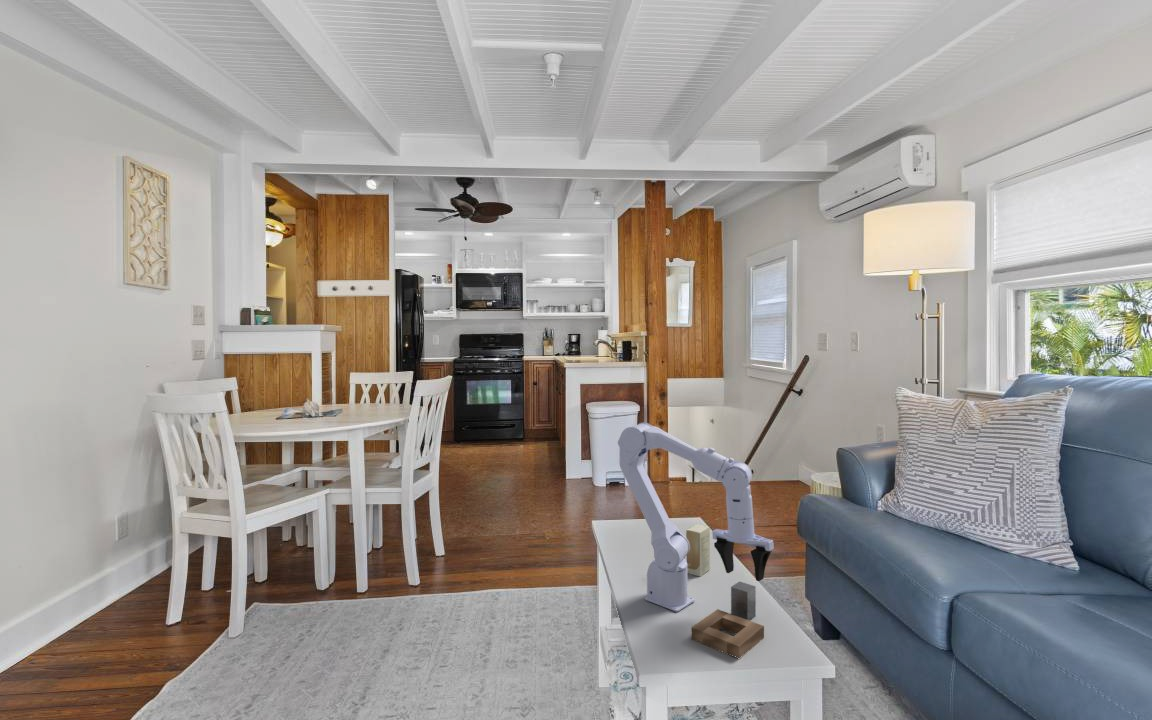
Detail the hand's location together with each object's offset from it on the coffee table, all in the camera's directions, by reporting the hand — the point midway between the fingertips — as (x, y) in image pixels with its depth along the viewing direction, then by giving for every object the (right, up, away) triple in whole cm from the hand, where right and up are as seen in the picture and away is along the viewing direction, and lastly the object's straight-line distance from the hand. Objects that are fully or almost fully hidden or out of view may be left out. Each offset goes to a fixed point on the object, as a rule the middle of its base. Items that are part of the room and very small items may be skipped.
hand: (744, 575), depth 125 cm
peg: (0, -10, +1) cm, 10 cm away
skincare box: (-5, -9, +26) cm, 28 cm away
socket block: (-6, -10, -9) cm, 15 cm away
